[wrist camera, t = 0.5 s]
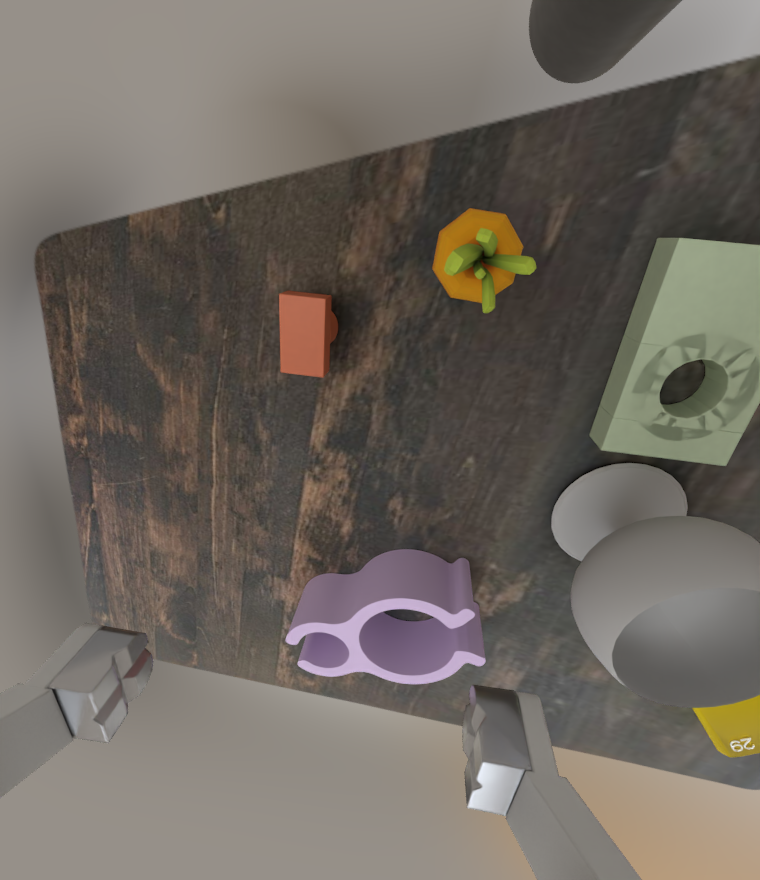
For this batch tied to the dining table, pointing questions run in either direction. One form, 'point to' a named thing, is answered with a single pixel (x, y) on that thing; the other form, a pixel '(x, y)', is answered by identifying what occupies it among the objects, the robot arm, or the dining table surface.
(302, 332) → the pad piece
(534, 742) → the robot arm
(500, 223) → the carrot
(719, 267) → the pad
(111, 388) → the dining table surface
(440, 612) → the clip
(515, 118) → the dining table surface
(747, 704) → the element tile
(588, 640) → the chalice
